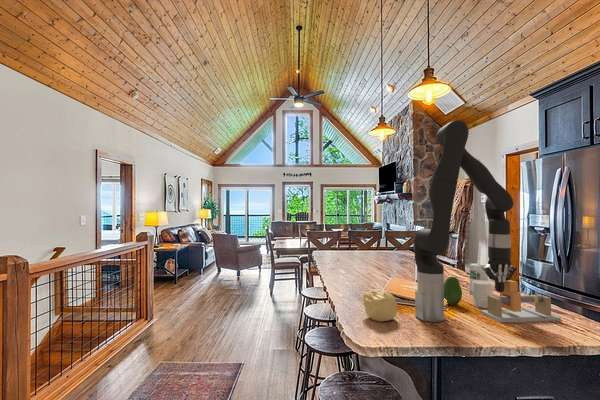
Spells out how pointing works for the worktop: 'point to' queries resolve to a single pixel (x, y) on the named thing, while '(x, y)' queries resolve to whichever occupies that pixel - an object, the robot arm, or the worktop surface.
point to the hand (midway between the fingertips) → (499, 291)
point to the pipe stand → (526, 315)
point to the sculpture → (380, 305)
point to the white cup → (481, 292)
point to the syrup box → (477, 274)
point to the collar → (512, 296)
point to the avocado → (452, 291)
